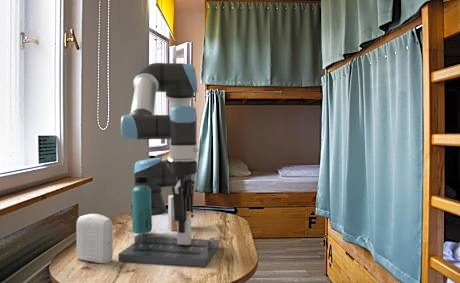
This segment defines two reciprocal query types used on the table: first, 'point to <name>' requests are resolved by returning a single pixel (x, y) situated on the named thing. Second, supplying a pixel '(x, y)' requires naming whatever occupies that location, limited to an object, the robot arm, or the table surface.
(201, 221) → the table surface
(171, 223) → the skincare box
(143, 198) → the beverage bottle
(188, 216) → the fader
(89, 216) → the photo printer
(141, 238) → the console
